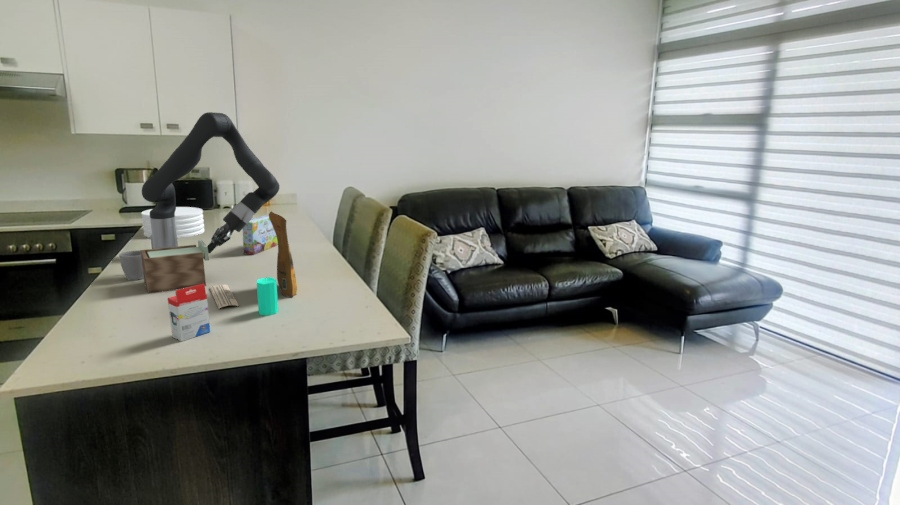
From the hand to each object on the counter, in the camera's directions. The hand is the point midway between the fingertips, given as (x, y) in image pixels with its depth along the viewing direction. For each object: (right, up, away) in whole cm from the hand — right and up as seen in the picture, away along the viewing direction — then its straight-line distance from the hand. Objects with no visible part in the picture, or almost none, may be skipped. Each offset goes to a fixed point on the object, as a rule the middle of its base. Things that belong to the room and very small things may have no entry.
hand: (206, 251), depth 186 cm
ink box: (+18, -24, -46) cm, 55 cm away
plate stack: (-54, +10, +76) cm, 94 cm away
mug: (-28, -10, +2) cm, 29 cm away
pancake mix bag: (+32, -14, -7) cm, 35 cm away
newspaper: (+14, -16, -15) cm, 26 cm away
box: (-10, -12, -4) cm, 16 cm away
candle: (+33, -19, -27) cm, 47 cm away
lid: (-8, -3, -5) cm, 10 cm away
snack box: (+2, +1, +48) cm, 49 cm away
